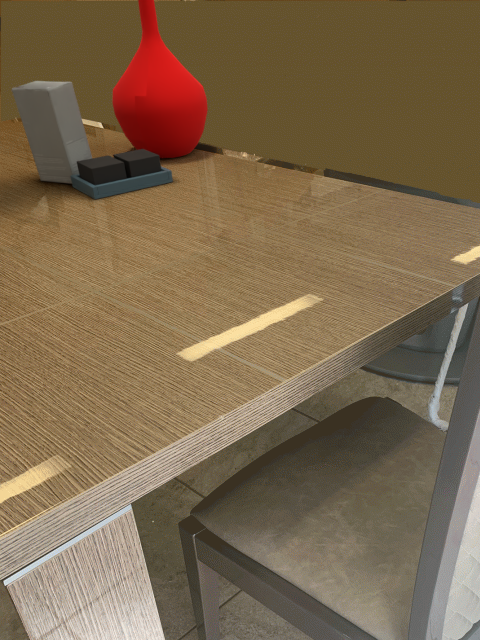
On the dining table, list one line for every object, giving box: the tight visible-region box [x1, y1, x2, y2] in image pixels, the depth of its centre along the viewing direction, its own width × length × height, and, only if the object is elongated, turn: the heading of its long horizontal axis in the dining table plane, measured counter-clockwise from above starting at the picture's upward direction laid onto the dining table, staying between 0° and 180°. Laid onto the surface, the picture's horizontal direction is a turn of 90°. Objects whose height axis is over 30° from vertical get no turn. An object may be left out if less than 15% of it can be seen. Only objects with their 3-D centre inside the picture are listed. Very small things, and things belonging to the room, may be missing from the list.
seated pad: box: [112, 149, 162, 179], centre depth 116 cm, size 6×6×4 cm
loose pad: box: [77, 155, 127, 186], centre depth 112 cm, size 6×6×4 cm
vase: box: [111, 0, 209, 159], centre depth 124 cm, size 18×18×30 cm
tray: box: [70, 165, 174, 200], centre depth 115 cm, size 15×9×2 cm, turn 131°
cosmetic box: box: [11, 80, 93, 185], centre depth 113 cm, size 8×7×16 cm
